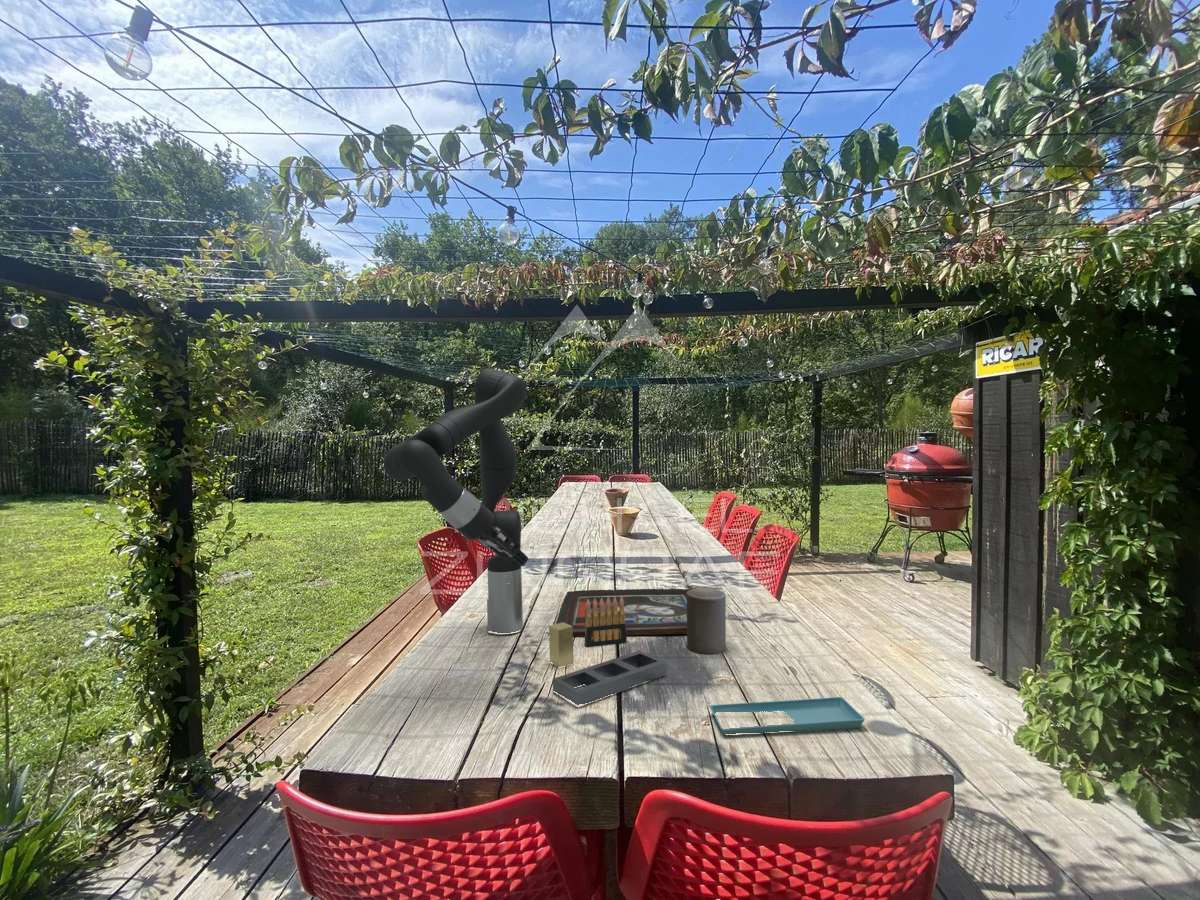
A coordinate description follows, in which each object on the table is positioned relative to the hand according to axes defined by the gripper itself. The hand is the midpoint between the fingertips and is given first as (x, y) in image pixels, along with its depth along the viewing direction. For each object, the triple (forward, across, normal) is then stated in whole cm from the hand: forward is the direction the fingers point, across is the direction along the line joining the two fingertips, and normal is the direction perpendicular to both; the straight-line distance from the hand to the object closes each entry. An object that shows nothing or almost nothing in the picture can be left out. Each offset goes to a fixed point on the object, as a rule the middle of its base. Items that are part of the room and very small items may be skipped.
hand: (515, 559), depth 130 cm
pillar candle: (+51, -15, -13) cm, 54 cm away
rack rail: (+28, -16, +9) cm, 34 cm away
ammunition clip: (+38, +4, 0) cm, 39 cm away
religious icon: (+54, +17, -16) cm, 59 cm away
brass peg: (+27, 0, +11) cm, 29 cm away
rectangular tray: (+39, -50, 0) cm, 63 cm away
